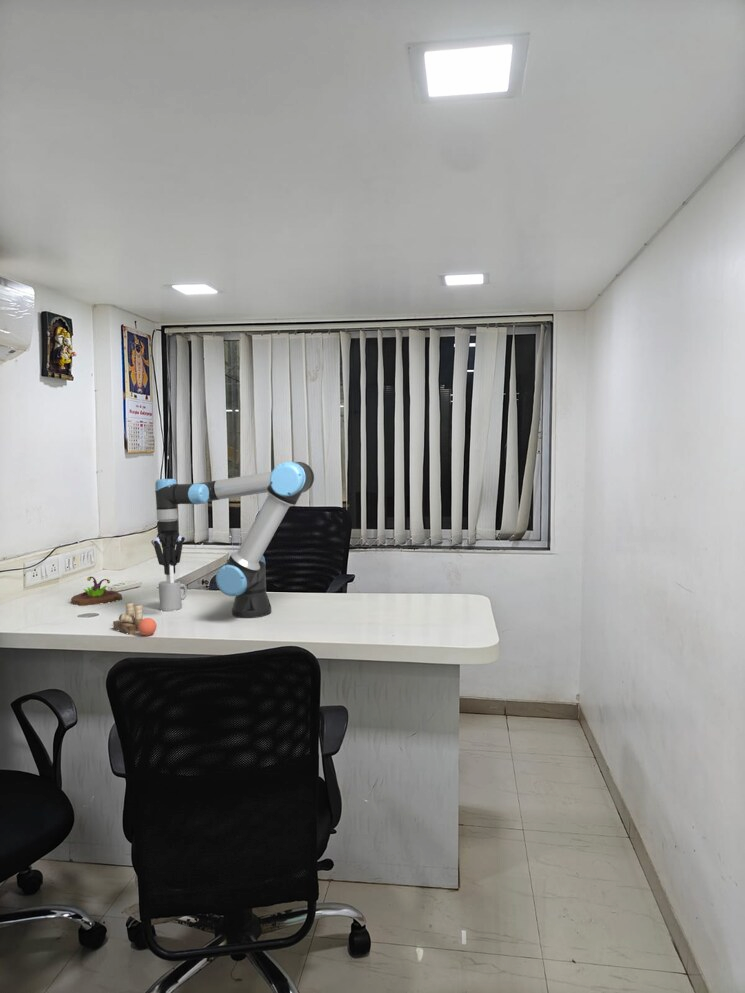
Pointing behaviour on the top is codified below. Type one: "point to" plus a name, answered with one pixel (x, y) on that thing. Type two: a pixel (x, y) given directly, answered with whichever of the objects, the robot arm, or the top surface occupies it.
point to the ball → (147, 626)
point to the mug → (171, 595)
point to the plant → (95, 595)
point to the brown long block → (124, 627)
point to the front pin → (127, 619)
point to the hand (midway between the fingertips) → (170, 582)
